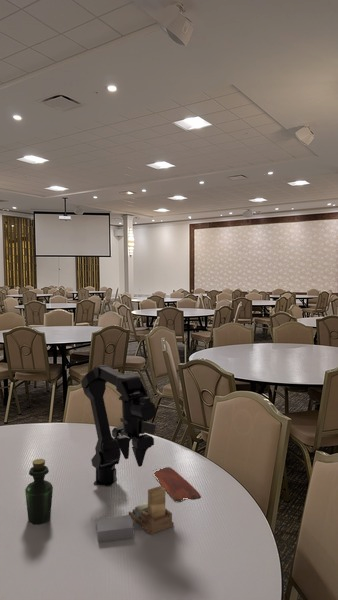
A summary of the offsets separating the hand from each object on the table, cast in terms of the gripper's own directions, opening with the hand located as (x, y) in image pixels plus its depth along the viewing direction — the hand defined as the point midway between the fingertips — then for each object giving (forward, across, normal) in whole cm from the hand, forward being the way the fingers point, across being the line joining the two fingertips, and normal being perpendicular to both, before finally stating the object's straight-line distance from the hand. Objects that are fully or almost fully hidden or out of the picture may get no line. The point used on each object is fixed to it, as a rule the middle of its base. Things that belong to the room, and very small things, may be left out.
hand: (133, 462), depth 148 cm
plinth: (+14, -12, +14) cm, 23 cm away
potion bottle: (+13, +7, +29) cm, 33 cm away
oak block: (+11, -16, +1) cm, 19 cm away
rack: (+14, -13, +1) cm, 19 cm away
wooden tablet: (+14, +5, -19) cm, 24 cm away
